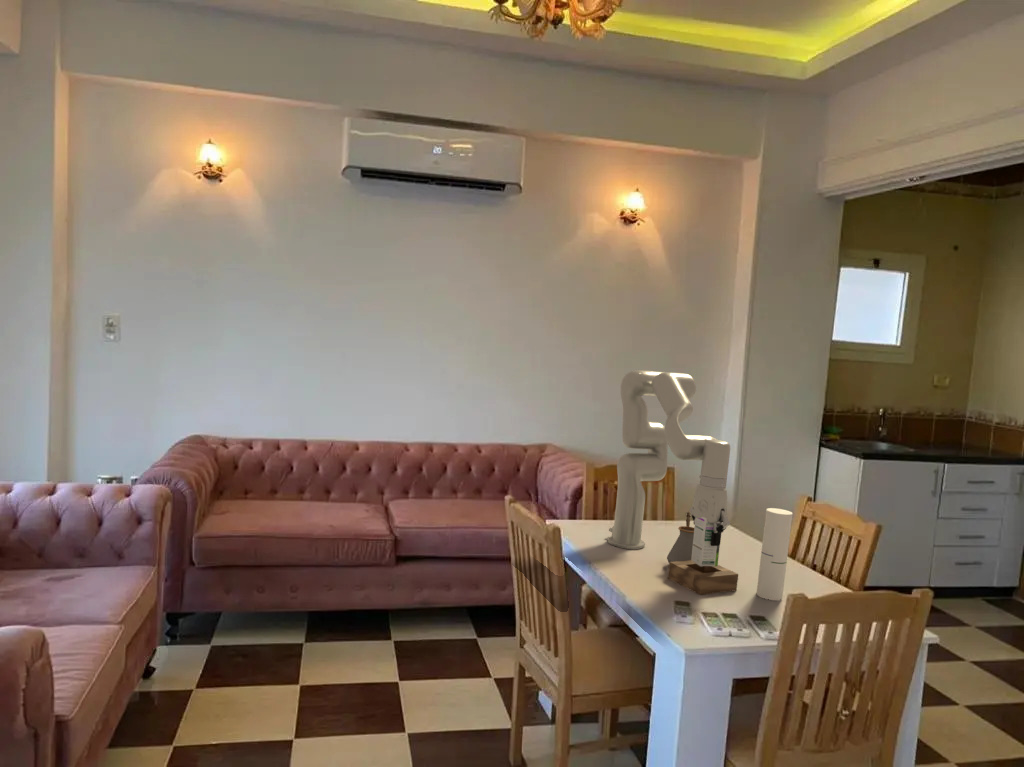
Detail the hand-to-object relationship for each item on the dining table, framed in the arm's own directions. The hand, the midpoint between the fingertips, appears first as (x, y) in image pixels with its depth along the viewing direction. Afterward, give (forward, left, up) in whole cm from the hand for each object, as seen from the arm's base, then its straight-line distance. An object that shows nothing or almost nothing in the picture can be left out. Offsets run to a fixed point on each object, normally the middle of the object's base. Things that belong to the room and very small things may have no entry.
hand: (706, 541), depth 223 cm
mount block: (0, 0, -13) cm, 13 cm away
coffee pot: (-17, +8, -13) cm, 23 cm away
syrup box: (0, 0, -7) cm, 7 cm away
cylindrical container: (+13, +14, -13) cm, 23 cm away
